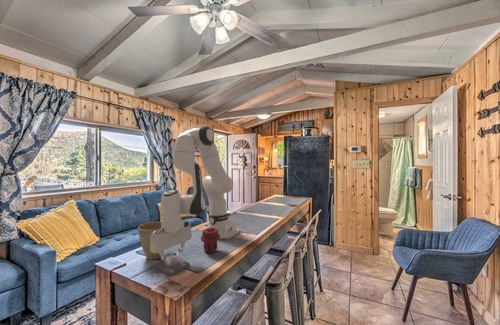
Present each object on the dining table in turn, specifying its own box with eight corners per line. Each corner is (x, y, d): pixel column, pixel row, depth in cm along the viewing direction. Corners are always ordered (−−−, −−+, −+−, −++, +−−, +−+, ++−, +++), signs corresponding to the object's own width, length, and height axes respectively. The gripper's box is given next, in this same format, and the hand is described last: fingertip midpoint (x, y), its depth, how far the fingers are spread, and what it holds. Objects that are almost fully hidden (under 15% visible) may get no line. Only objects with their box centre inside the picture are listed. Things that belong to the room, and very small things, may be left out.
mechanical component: (199, 255, 114) (203, 247, 124) (218, 255, 114) (221, 247, 124) (198, 231, 114) (203, 225, 124) (217, 231, 113) (221, 225, 123)
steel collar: (181, 262, 103) (181, 253, 103) (170, 267, 98) (170, 259, 98) (173, 259, 107) (173, 250, 107) (162, 264, 102) (161, 255, 102)
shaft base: (172, 259, 110) (172, 248, 110) (189, 265, 103) (189, 254, 103) (153, 267, 102) (153, 255, 102) (171, 275, 95) (170, 262, 94)
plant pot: (150, 265, 103) (149, 232, 103) (132, 258, 112) (131, 227, 111) (176, 254, 116) (175, 223, 116) (158, 248, 124) (158, 219, 124)
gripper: (154, 233, 92) (156, 266, 92) (193, 221, 109) (194, 249, 109) (146, 231, 95) (147, 262, 96) (184, 219, 112) (185, 246, 113)
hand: (172, 255), depth 102 cm, fingers open, 8 cm apart
